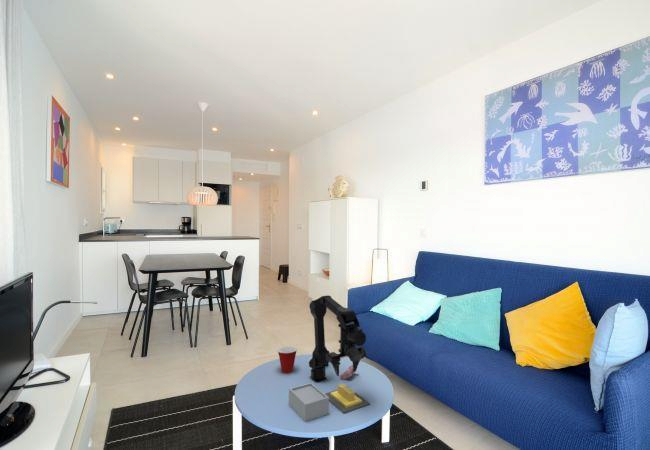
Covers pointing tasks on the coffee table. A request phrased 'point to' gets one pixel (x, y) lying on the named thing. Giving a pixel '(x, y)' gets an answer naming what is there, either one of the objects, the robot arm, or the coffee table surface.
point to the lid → (346, 396)
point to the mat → (348, 409)
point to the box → (308, 401)
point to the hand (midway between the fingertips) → (346, 373)
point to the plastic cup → (287, 358)
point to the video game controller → (347, 373)
